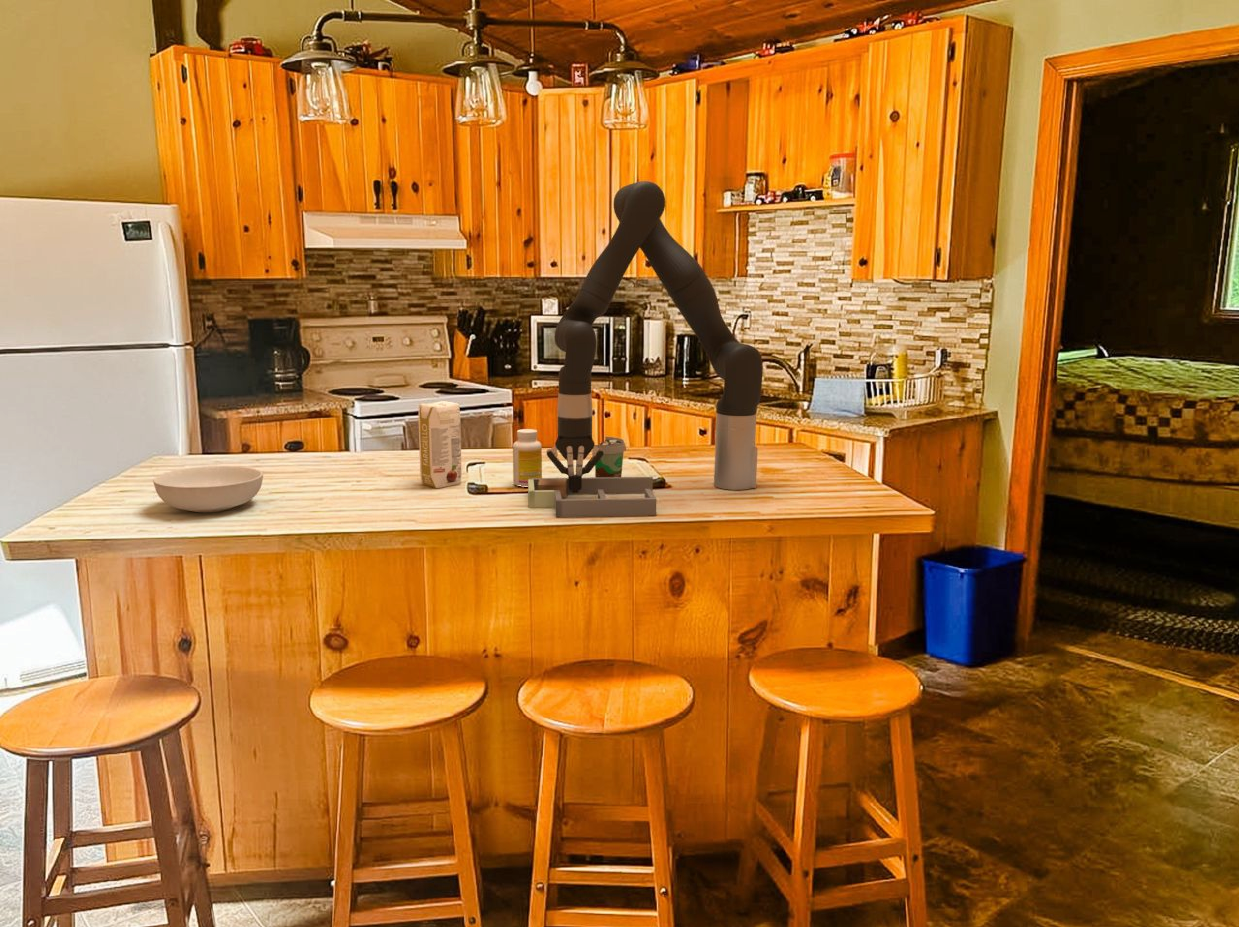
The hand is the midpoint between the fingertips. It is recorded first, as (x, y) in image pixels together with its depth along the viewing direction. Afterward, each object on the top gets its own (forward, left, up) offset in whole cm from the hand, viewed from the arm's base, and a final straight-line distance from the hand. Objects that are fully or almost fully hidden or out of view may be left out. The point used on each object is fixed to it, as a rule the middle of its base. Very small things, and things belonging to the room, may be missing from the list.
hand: (574, 491), depth 208 cm
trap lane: (-4, +4, -2) cm, 6 cm away
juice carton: (+30, -16, -2) cm, 34 cm away
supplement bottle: (+10, -14, -2) cm, 17 cm away
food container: (-10, -15, -2) cm, 18 cm away
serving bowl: (+76, +2, -2) cm, 76 cm away
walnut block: (+5, -1, -2) cm, 5 cm away
